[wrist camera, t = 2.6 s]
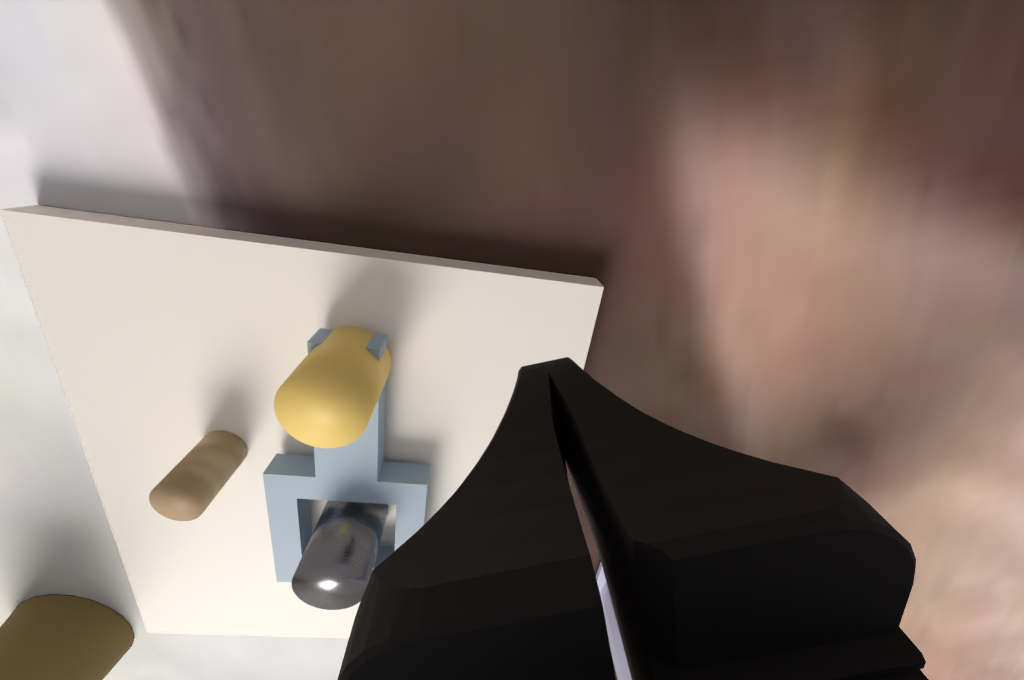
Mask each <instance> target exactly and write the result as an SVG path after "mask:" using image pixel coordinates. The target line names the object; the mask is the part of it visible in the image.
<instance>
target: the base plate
mask: <svg viewBox="0 0 1024 680" xmlns="http://www.w3.org/2000/svg"><path fill="white" fill-rule="evenodd" d="M0 214H1V216H2V219H3V222H4V225H5V228H6V231H7V234H8V236H9V239H10V242H11V245H12V248H13V251H14V254H15V256H16V259H17V262H18V265H19V268H20V271H21V274H22V276H23V279H24V282H25V285H26V288H27V291H28V294H29V296H30V299H31V302H32V305H33V308H34V311H35V314H36V316H37V319H38V322H39V325H40V328H41V331H42V334H43V336H44V339H45V342H46V345H47V348H48V351H49V354H50V356H51V359H52V362H53V365H54V368H55V371H56V374H57V376H58V379H59V382H60V385H61V388H62V391H63V394H64V396H65V399H66V402H67V405H68V408H69V411H70V414H71V416H72V419H73V422H74V425H75V428H76V431H77V434H78V436H79V439H80V442H81V445H82V448H83V451H84V454H85V456H86V459H87V462H88V465H89V468H90V471H91V474H92V476H93V479H94V482H95V485H96V488H97V491H98V494H99V496H100V499H101V502H102V505H103V508H104V511H105V514H106V516H107V519H108V522H109V525H110V528H111V531H112V534H113V536H114V539H115V542H116V545H117V548H118V551H119V554H120V556H121V559H122V562H123V565H124V568H125V571H126V574H127V576H128V579H129V582H130V585H131V588H132V591H133V594H134V596H135V599H136V602H137V605H138V608H139V611H140V614H141V616H142V619H143V622H144V625H145V628H146V631H147V633H165V634H204V635H243V636H282V637H320V638H349V637H350V633H351V630H352V626H353V623H354V619H355V616H356V613H357V610H358V607H359V605H360V602H361V601H360V602H359V603H358V604H356V605H354V606H352V607H349V608H346V609H340V610H326V609H320V608H316V607H313V606H310V605H308V604H306V603H304V602H303V601H302V600H300V599H299V598H298V597H297V596H296V595H295V593H294V592H293V589H292V585H291V582H277V580H276V572H275V565H274V557H273V549H272V542H271V534H270V526H269V519H268V511H267V503H266V496H265V488H264V480H263V473H264V471H265V470H266V468H267V467H268V465H269V464H270V462H271V461H272V459H273V458H274V457H275V455H276V454H277V453H278V454H292V455H305V456H314V446H310V445H307V444H305V443H302V442H300V441H298V440H297V439H295V438H294V437H292V436H291V435H290V434H288V433H287V432H286V431H285V430H284V429H283V427H282V426H281V425H280V423H279V421H278V420H277V418H276V415H275V411H274V398H275V395H276V392H277V390H278V389H279V387H280V386H281V385H282V384H283V382H284V381H285V380H286V379H287V378H288V377H289V376H290V374H291V373H292V372H293V371H294V370H295V369H296V367H297V366H298V365H299V364H300V363H301V362H302V361H303V359H304V358H305V357H306V356H307V355H308V348H307V342H308V341H309V340H310V338H311V337H312V336H313V335H314V334H315V333H316V332H317V331H318V330H319V329H320V328H323V329H332V330H334V329H337V328H341V327H357V328H361V329H365V330H367V331H369V332H371V333H373V334H378V335H387V348H388V350H389V353H390V356H391V363H392V365H391V371H390V374H389V376H388V378H387V381H386V395H385V435H384V461H387V462H400V463H414V464H428V465H431V466H430V478H429V490H428V502H427V513H426V522H427V521H428V520H429V519H430V518H431V517H432V516H433V515H434V514H435V513H436V512H437V511H438V510H439V509H440V508H441V507H442V506H443V505H444V504H445V503H446V502H447V500H448V499H449V498H450V497H451V496H452V495H453V494H454V493H455V491H456V490H457V489H458V488H459V486H460V485H461V484H462V483H463V481H464V480H465V479H466V477H467V476H468V475H469V473H470V472H471V471H472V469H473V468H474V466H475V465H476V464H477V462H478V461H479V459H480V458H481V456H482V454H483V453H484V451H485V450H486V448H487V447H488V445H489V443H490V441H491V440H492V438H493V436H494V434H495V432H496V430H497V428H498V426H499V424H500V422H501V420H502V418H503V416H504V414H505V412H506V409H507V407H508V404H509V402H510V399H511V397H512V394H513V391H514V388H515V385H516V381H517V377H518V371H519V370H520V368H521V367H522V366H527V365H532V364H537V363H541V362H546V361H551V360H556V359H560V358H565V357H569V358H570V359H572V360H573V361H574V362H575V363H576V364H577V365H578V366H579V367H581V368H582V369H583V370H584V366H585V362H586V358H587V354H588V350H589V346H590V342H591V337H592V333H593V329H594V325H595V321H596V317H597V313H598V309H599V305H600V301H601V297H602V293H603V289H604V287H603V285H602V284H601V283H600V282H599V281H598V280H597V278H592V277H584V276H577V275H569V274H561V273H554V272H546V271H538V270H531V269H523V268H515V267H507V266H500V265H492V264H484V263H477V262H469V261H461V260H454V259H446V258H438V257H431V256H423V255H415V254H408V253H400V252H392V251H385V250H377V249H369V248H362V247H354V246H346V245H339V244H331V243H323V242H316V241H308V240H300V239H293V238H285V237H277V236H270V235H262V234H254V233H247V232H239V231H231V230H224V229H216V228H208V227H201V226H193V225H185V224H178V223H170V222H162V221H155V220H147V219H139V218H132V217H124V216H116V215H109V214H101V213H93V212H86V211H78V210H70V209H63V208H55V207H47V206H40V205H33V206H25V207H17V208H9V209H0ZM217 430H223V431H228V432H231V433H234V434H236V435H237V436H239V437H240V438H241V439H242V440H243V441H244V442H245V443H246V445H247V448H248V454H247V457H246V458H245V460H244V461H243V462H242V463H241V465H240V466H239V467H238V469H237V470H236V471H235V472H234V474H233V475H232V476H231V477H230V479H229V480H228V481H227V483H226V484H225V485H224V486H223V488H222V489H221V490H220V492H219V493H218V494H217V495H216V497H215V498H214V499H213V501H212V502H211V503H210V504H209V506H208V507H207V508H206V510H205V511H204V512H203V513H202V515H201V516H200V517H198V518H197V519H194V520H191V521H176V520H172V519H169V518H166V517H164V516H162V515H161V514H159V513H158V512H157V511H155V510H154V509H153V507H152V506H151V504H150V501H149V494H150V492H151V491H152V489H153V488H154V487H155V486H156V485H157V484H158V483H159V482H160V481H161V480H162V479H163V478H164V477H165V476H166V475H167V474H168V473H169V472H170V471H171V470H172V469H173V468H174V467H175V466H176V465H177V464H178V463H179V462H180V461H181V460H182V459H183V458H184V457H185V456H186V455H187V454H188V453H189V452H190V451H191V450H192V449H193V448H194V447H195V446H196V445H197V444H198V443H199V442H200V441H201V439H202V438H203V437H204V436H205V435H207V434H208V433H210V432H212V431H217ZM326 503H327V500H313V499H310V511H311V524H312V534H313V531H314V529H315V527H316V525H317V523H318V520H319V518H320V516H321V514H322V512H323V509H324V507H325V505H326ZM387 505H388V515H387V519H386V522H385V526H384V530H383V533H382V537H381V541H380V545H384V546H395V525H396V505H394V504H387Z"/></svg>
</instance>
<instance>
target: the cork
mask: <svg viewBox="0 0 1024 680" xmlns="http://www.w3.org/2000/svg"><path fill="white" fill-rule="evenodd" d="M133 640H134V634H133V630H132V627H131V626H130V625H129V624H128V622H127V621H126V620H125V619H124V618H123V617H122V616H121V615H119V614H118V613H116V612H115V611H113V610H112V609H110V608H109V607H106V606H104V605H102V604H99V603H97V602H94V601H92V600H88V599H84V598H79V597H75V596H67V595H46V596H38V597H34V598H31V599H29V600H27V601H24V602H22V603H21V604H20V605H19V606H18V607H17V608H16V609H15V610H14V612H13V613H12V614H11V615H10V616H9V618H8V619H7V620H6V621H5V622H4V624H3V625H2V626H1V627H0V680H103V678H104V677H105V676H106V675H107V674H108V673H109V672H110V670H111V669H112V668H113V667H114V666H115V665H116V664H117V662H118V661H119V660H120V659H121V658H122V657H123V655H124V654H125V653H126V652H127V651H128V650H129V649H130V647H131V646H132V643H133Z"/></svg>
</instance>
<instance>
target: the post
mask: <svg viewBox="0 0 1024 680" xmlns="http://www.w3.org/2000/svg"><path fill="white" fill-rule="evenodd" d="M387 515H388V505H387V504H378V503H362V502H346V501H329V500H327V503H326V505H325V507H324V509H323V512H322V514H321V516H320V518H319V520H318V523H317V525H316V527H315V529H314V531H313V534H312V536H311V538H310V540H309V543H308V545H307V547H306V549H305V551H304V554H303V556H302V558H301V560H300V562H299V565H298V567H297V569H296V571H295V574H294V576H293V578H292V582H291V585H292V589H293V592H294V593H295V595H296V596H297V597H298V598H299V599H300V600H302V601H303V602H304V603H306V604H308V605H310V606H313V607H316V608H320V609H326V610H340V609H346V608H349V607H352V606H354V605H356V604H358V603H359V602H360V601H361V599H362V596H363V594H364V592H365V589H366V587H367V584H368V582H369V579H370V576H371V573H372V571H373V567H374V563H375V560H376V556H377V552H378V548H379V545H380V541H381V537H382V533H383V530H384V526H385V522H386V519H387Z"/></svg>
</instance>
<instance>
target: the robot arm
mask: <svg viewBox="0 0 1024 680" xmlns="http://www.w3.org/2000/svg"><path fill="white" fill-rule="evenodd" d="M565 460H566V462H567V465H568V468H569V471H570V473H571V476H572V479H573V482H574V484H575V487H576V490H577V493H578V495H579V498H580V501H581V503H582V506H583V509H584V512H585V514H586V517H587V520H588V523H589V525H590V528H591V531H592V533H593V537H594V540H595V543H596V546H597V549H598V552H599V556H600V560H601V562H600V565H599V568H598V571H597V574H596V576H595V572H594V568H593V565H592V561H591V557H590V553H589V550H588V547H587V544H586V540H585V537H584V534H583V531H582V527H581V524H580V521H579V517H578V514H577V510H576V507H575V504H574V500H573V497H572V493H571V490H570V486H569V483H568V477H567V470H566V462H565ZM915 566H916V559H915V556H914V553H913V550H912V547H911V544H910V543H909V542H908V541H907V540H906V539H905V538H904V537H903V536H902V535H901V534H899V533H898V532H897V531H896V530H895V529H894V528H893V527H892V526H891V525H890V524H889V523H888V522H887V521H886V520H885V519H884V518H883V517H882V516H881V515H880V514H879V513H878V512H877V511H876V510H875V509H874V508H873V507H872V506H871V505H869V504H868V503H867V502H866V501H865V500H864V499H863V498H862V497H860V496H859V495H858V494H857V493H856V492H854V491H853V490H852V489H851V488H850V487H849V486H847V485H846V484H845V483H844V482H842V481H841V480H840V479H839V478H837V477H833V476H829V475H824V474H820V473H816V472H812V471H807V470H803V469H799V468H794V467H790V466H786V465H782V464H777V463H773V462H769V461H766V460H762V459H759V458H756V457H752V456H749V455H746V454H742V453H739V452H736V451H733V450H730V449H727V448H724V447H721V446H718V445H715V444H712V443H709V442H707V441H704V440H702V439H699V438H697V437H694V436H692V435H689V434H687V433H684V432H682V431H680V430H677V429H675V428H673V427H671V426H668V425H666V424H664V423H662V422H660V421H658V420H656V419H654V418H653V417H651V416H649V415H647V414H645V413H643V412H641V411H639V410H638V409H636V408H634V407H633V406H631V405H630V404H628V403H626V402H625V401H623V400H622V399H620V398H619V397H617V396H616V395H615V394H613V393H612V392H610V391H609V390H608V389H606V388H605V387H604V386H602V385H601V384H600V383H598V382H597V381H596V380H595V379H593V378H592V377H591V376H590V375H589V374H587V373H586V372H585V371H584V370H583V369H582V368H581V367H579V366H578V365H577V364H576V363H575V362H574V361H573V360H572V359H570V358H569V357H565V358H560V359H556V360H551V361H546V362H541V363H537V364H532V365H527V366H522V367H521V368H520V370H519V371H518V377H517V381H516V385H515V388H514V391H513V394H512V397H511V399H510V402H509V404H508V407H507V409H506V412H505V414H504V416H503V418H502V420H501V422H500V424H499V426H498V428H497V430H496V432H495V434H494V436H493V438H492V440H491V441H490V443H489V445H488V447H487V448H486V450H485V451H484V453H483V454H482V456H481V458H480V459H479V461H478V462H477V464H476V465H475V466H474V468H473V469H472V471H471V472H470V473H469V475H468V476H467V477H466V479H465V480H464V481H463V483H462V484H461V485H460V486H459V488H458V489H457V490H456V491H455V493H454V494H453V495H452V496H451V497H450V498H449V499H448V500H447V502H446V503H445V504H444V505H443V506H442V507H441V508H440V509H439V510H438V511H437V512H436V513H435V514H434V515H433V516H432V517H431V518H430V519H429V520H428V521H427V522H426V523H425V524H424V525H423V526H422V527H421V528H420V529H419V530H418V531H417V532H416V533H415V534H414V535H412V536H411V537H410V538H409V539H408V540H407V541H406V542H404V543H403V544H402V545H401V546H400V547H399V548H398V549H396V550H395V551H394V552H393V553H392V554H391V555H390V556H388V557H387V558H386V559H385V560H384V561H383V562H381V563H380V564H379V565H378V566H377V567H375V568H374V569H373V571H372V573H371V576H370V579H369V582H368V584H367V587H366V589H365V592H364V594H363V596H362V599H361V602H360V605H359V607H358V610H357V613H356V616H355V619H354V623H353V626H352V630H351V633H350V637H349V641H348V644H347V648H346V651H345V655H344V659H343V662H342V666H341V670H340V673H339V677H338V680H616V678H615V673H614V667H613V662H614V666H615V670H616V674H617V678H618V680H928V679H927V677H926V676H925V675H924V674H923V673H922V671H921V670H920V669H921V668H924V666H925V663H926V662H925V659H924V657H923V655H922V653H921V652H920V651H919V649H918V648H917V647H916V646H915V645H914V644H913V642H912V641H911V640H910V639H909V638H908V637H907V635H906V634H905V633H904V632H903V631H902V630H901V629H900V627H899V624H900V621H901V618H902V615H903V612H904V609H905V606H906V604H907V601H908V598H909V595H910V592H911V589H912V586H913V581H914V574H915ZM611 654H612V655H611ZM612 658H613V661H612Z"/></svg>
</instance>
